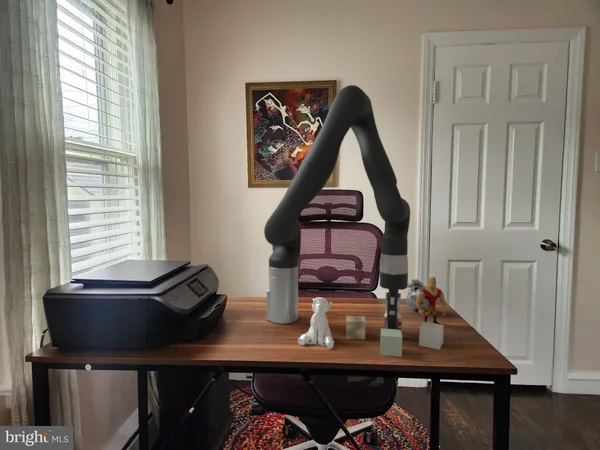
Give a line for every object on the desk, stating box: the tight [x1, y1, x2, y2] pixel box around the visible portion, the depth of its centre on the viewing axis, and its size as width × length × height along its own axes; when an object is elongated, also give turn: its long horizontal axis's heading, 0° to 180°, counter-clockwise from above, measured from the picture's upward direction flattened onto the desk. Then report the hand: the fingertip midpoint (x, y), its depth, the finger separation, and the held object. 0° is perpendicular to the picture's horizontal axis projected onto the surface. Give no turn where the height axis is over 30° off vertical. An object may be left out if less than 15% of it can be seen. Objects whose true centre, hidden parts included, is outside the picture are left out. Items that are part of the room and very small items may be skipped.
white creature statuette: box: [297, 296, 335, 350], centre depth 95 cm, size 10×9×12 cm
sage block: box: [380, 327, 403, 358], centre depth 88 cm, size 5×5×5 cm
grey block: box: [418, 321, 445, 351], centre depth 93 cm, size 5×5×5 cm
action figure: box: [416, 276, 447, 325], centre depth 108 cm, size 10×4×15 cm, turn 97°
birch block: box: [345, 315, 366, 341], centre depth 99 cm, size 5×5×5 cm
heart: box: [405, 278, 429, 312], centre depth 120 cm, size 10×10×12 cm
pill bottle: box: [383, 306, 403, 332], centre depth 98 cm, size 5×5×8 cm
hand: (392, 327), depth 98 cm, fingers open, 8 cm apart
